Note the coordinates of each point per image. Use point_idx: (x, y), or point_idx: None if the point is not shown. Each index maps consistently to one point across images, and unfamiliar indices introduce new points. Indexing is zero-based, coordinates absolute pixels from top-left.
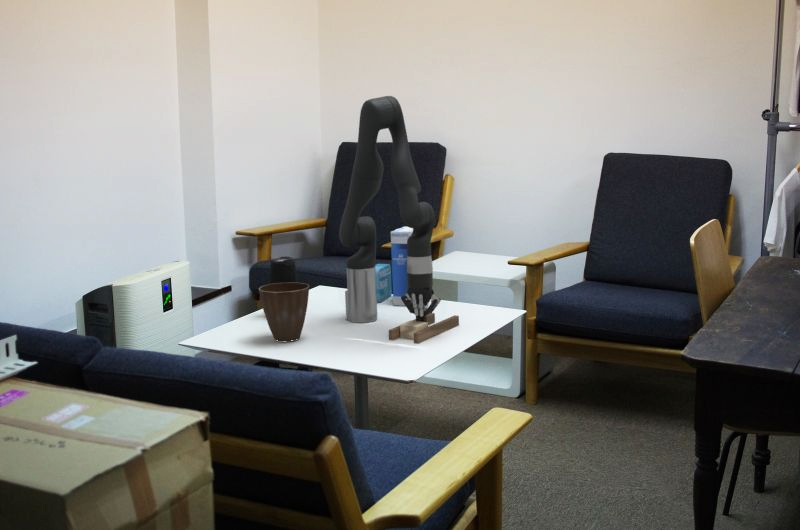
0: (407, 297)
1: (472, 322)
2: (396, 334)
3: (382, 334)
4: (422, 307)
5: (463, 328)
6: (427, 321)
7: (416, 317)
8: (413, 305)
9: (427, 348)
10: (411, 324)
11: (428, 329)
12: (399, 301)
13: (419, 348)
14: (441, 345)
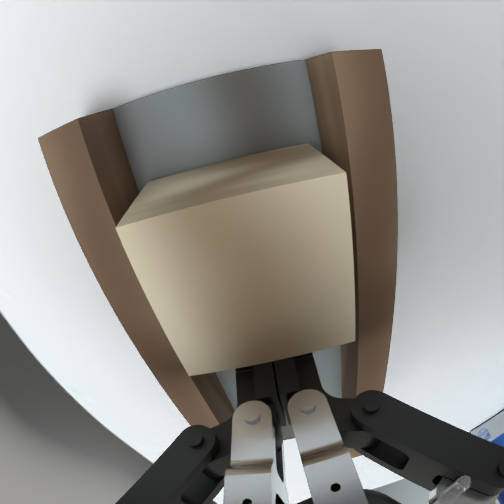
0: (458, 502)
1: None
2: (326, 108)
3: (474, 190)
4: (226, 482)
5: None
6: None
7: (312, 381)
8: (351, 470)
9: (13, 131)
10: (246, 256)
11: (108, 296)
12: (501, 422)
13: (42, 91)
14: (19, 231)
